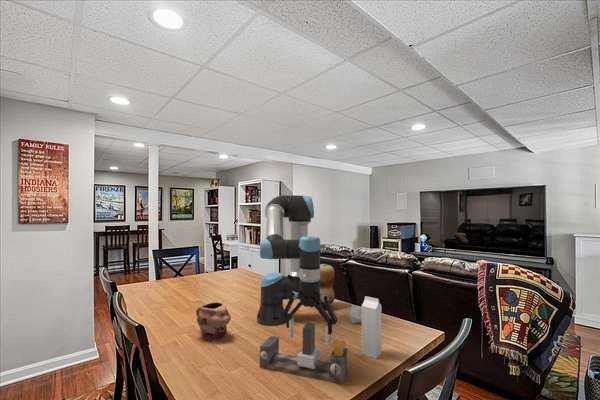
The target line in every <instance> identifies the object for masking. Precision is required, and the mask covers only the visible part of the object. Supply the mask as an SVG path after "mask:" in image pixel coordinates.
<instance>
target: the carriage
mask: <svg viewBox="0 0 600 400" xmlns="http://www.w3.org/2000/svg"><path fill="white" fill-rule="evenodd" d="M320 353H321V348H320V347H316V324H315V323H312V322H306V323H305V325H304V326H303V327H302V348H301V349H300V351H299V352H298V353H297V355H296V356H297V364H298V366H301V367H306V368H311V369H315V368H316V362H317V361H320V359H319V358H320V356H321V354H320Z"/></svg>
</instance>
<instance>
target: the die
mask: <svg viewBox="0 0 600 400" xmlns="http://www.w3.org/2000/svg"><path fill="white" fill-rule="evenodd" d="M348 317H349V319H350V322H351V323H352V324H362V305H361V306H360V305H359V306H357V305H354V306H353V305H352V306H351V307H350V309H349V311H348Z"/></svg>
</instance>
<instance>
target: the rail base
mask: <svg viewBox="0 0 600 400" xmlns="http://www.w3.org/2000/svg"><path fill="white" fill-rule="evenodd" d="M279 345H280V337H279V336H274V335H269V337H268V338H267V339H265V340H264V342H262V344H261V345H259V368H262V369H267V370H272V371H277V372H282V373H286V374H290V375H291V374H292V375H296V376H300V377H305V378H310V379H315V380H319V381H325V382H328V383H332V384H333V383H334V384H338V383H339V384H338V385H342V384H344V382H345V379H346V376H347V372H348V348H346V347H344V354H343V356H336V355H334V349H332V352H331V354H330V357H328V358H329V360H328V361H329V362H328V361H324V360H319V361H317V362H316V368H315V369H311V368H306V367H301V366H298V364H297V355H292V354H288V353H287V354H286V353H280V347H279Z"/></svg>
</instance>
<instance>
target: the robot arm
mask: <svg viewBox="0 0 600 400" xmlns="http://www.w3.org/2000/svg"><path fill="white" fill-rule="evenodd" d="M264 216H265V218H266V222H265V223H266V225H265V238H264V239H260V243H259V257H260V258H261V259H263V260H265V259H266V260H290V269H289V270H288V272H287V276H284V273H282V272H274V273H268V274H264V275H263V276H262V277H261V280H260V303H259V304H260V305H259V307H258V308H259V309H258V311H257V314H256V322H257V323H258V324H260V325H262V326H279V325H282V324H284V323H285V322H286V329H288V339H289V340H292V338H294V328H295V327H294V325H295V323H294V322H295V320H294V319H295V317H293V316H294V315H295V314H296V312H297V311H298V310H299V309H300V308H301V307H302V306H304V307H306V308H307V307H309V308H315V309H316V310H317V311H318V313H319V314H320V316H321V317H322V318H323V320H324V322H325V323H326V324H325V345H326V346H328V345H329V343H330V336H331V335H332V333H333V325H337V323H338V317H337V315H336V313H335V311H334V308H333V306H332V304H330V302H329V295H320V281H319V279H320V264H321V248H322V245H321V239H320V237H319V236H312V235H310V236H309V234H308V233H309V232H308V231H309V230H308V228H309V227H308V226H309V224H310V223H311V222H312V219H314V218H315V207H314V202H313V198H312V197H311V196H309V195H304V194H303V195H295V194H294V195H292V194H291V195H290V194H289V195H286V194H283V195H278V196H276V197H274V198H273V199H271V200H270V201H269V202H268V203H267V204H266V206H265V210H264ZM284 218H286V219H288V223H290V226H291V227H290V228H291V229H290V230H291V232H290V234H291V235H290V239H284V223H283V221H284V220H283V219H284ZM320 299H322V301H323V302H324V303H325V306H326V308H323V307H322V305H321V303H320V302H319V301H320ZM284 300H285V301H286V300H288V302H287V304H286V305H285V307H284ZM295 300H299V302H298V303H297V304H296V306H295V307H294V308H293V309H292V310H291V311H290V309H291V308H292V306H293V303H294V301H295ZM325 309H326V310H325ZM289 311H290V312H289ZM327 312H328V313H327Z"/></svg>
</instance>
